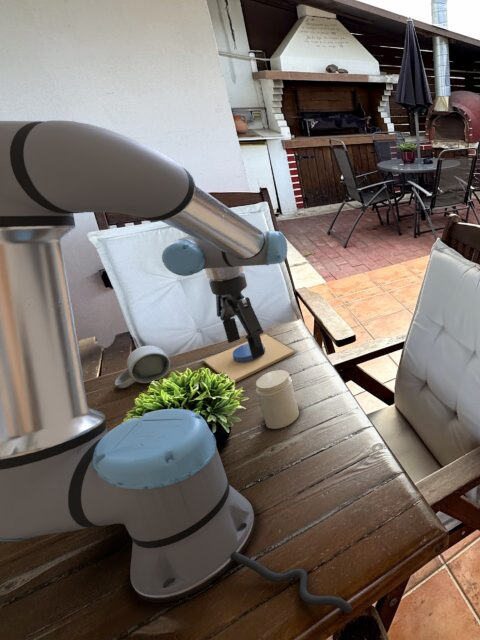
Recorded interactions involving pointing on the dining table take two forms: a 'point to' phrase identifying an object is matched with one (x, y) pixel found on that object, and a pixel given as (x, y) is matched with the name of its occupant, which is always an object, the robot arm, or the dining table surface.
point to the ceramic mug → (144, 366)
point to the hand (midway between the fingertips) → (246, 348)
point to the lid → (244, 354)
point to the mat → (241, 370)
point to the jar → (277, 399)
